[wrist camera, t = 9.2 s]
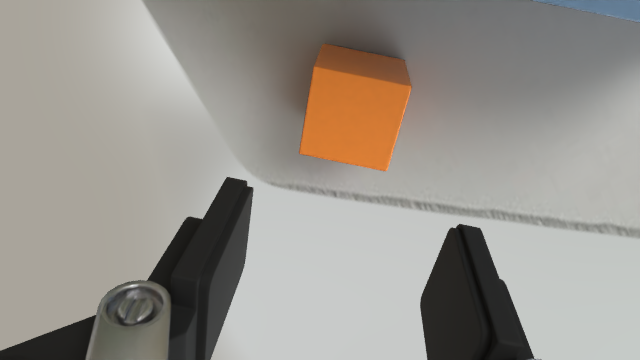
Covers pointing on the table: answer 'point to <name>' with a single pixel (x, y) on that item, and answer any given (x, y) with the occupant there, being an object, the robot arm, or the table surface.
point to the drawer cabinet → (603, 7)
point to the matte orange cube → (355, 107)
